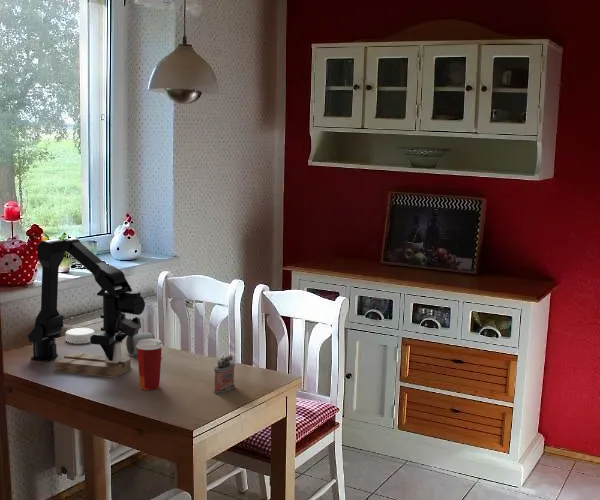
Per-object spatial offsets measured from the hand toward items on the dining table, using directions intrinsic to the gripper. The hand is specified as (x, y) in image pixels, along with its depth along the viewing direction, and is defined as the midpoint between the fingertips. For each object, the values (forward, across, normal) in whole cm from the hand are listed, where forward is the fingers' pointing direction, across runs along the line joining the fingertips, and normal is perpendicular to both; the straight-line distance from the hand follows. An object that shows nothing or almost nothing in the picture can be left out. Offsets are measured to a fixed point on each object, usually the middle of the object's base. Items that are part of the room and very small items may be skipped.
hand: (113, 359), depth 234 cm
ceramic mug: (+4, +20, 0) cm, 20 cm away
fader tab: (+2, 0, 0) cm, 2 cm away
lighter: (+4, -6, -38) cm, 39 cm away
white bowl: (+4, +28, +26) cm, 39 cm away
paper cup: (+4, -10, -16) cm, 20 cm away
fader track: (+4, 0, +7) cm, 8 cm away
